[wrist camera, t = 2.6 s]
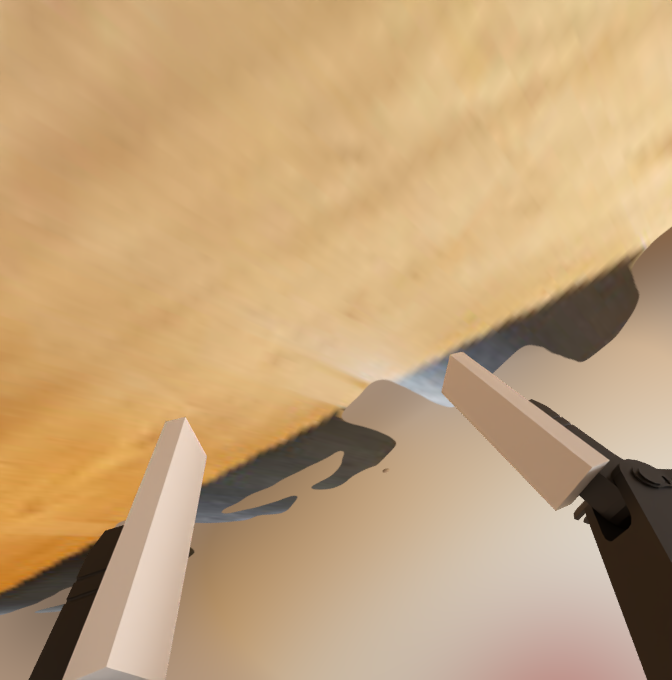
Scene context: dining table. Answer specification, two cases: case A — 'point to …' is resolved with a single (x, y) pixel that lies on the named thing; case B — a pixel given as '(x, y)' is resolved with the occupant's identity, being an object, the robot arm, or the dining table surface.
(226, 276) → the dining table surface
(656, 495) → the robot arm
